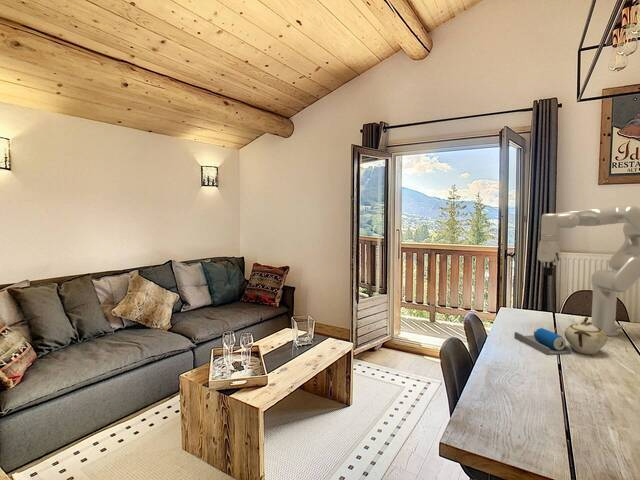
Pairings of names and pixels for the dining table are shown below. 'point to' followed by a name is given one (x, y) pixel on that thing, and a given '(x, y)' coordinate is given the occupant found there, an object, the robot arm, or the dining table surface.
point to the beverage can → (550, 339)
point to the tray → (541, 345)
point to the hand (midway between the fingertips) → (548, 275)
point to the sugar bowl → (585, 337)
